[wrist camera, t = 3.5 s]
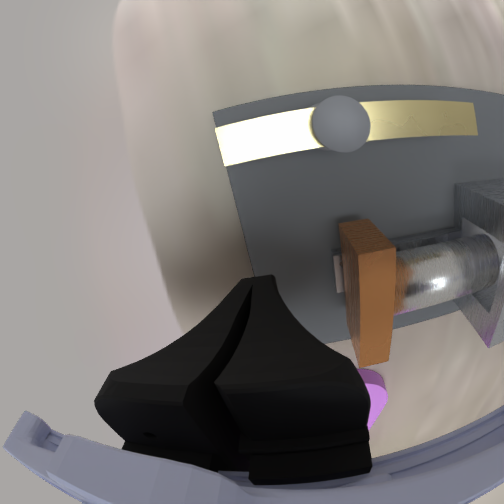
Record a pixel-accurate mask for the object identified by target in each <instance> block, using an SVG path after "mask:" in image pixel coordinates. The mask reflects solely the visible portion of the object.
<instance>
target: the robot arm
mask: <svg viewBox="0 0 504 504" xmlns="http://www.w3.org/2000/svg"><path fill="white" fill-rule="evenodd" d="M94 402H95V407H96V410H97V412H98V414H99V415H100V416H101V417H102V419H103V420H104V421H105V422H106V423H107V424H108V425H109V426H110V427H111V428H112V429H113V430H114V431H115V432H116V433H117V434H118V435H119V436H120V437H122V438H123V439H124V440H125V443H124V445H123V447H122V449H118V448H114V447H111V446H108V445H104V444H101V443H98V442H94V441H91V440H88V439H85V438H82V437H80V436H75V435H64V434H61V433H59V432H56V431H54V430H52V429H51V428H50V427H49V426H48V425H47V424H46V423H45V422H44V421H43V420H42V419H41V418H39V417H38V416H36V415H34V414H32V413H30V412H28V411H24V413H23V414H22V416H21V418H20V419H19V421H18V422H17V424H16V425H15V427H14V429H13V430H12V432H11V434H10V435H9V437H8V439H7V440H6V442H5V444H4V446H3V448H4V449H5V450H6V451H7V452H8V453H9V454H10V455H12V456H13V457H14V458H15V459H16V460H18V461H19V462H20V463H21V464H23V465H24V466H25V467H27V468H28V469H29V470H31V471H32V472H33V473H35V474H36V475H38V476H39V477H40V478H42V479H43V480H45V481H46V482H48V483H49V484H51V485H53V486H54V487H56V488H57V489H59V490H61V491H62V492H64V493H66V494H68V495H69V496H71V497H73V498H75V499H77V500H79V501H80V502H82V504H468V503H470V502H472V501H473V500H475V499H477V498H479V497H480V496H482V495H484V494H486V493H487V492H489V491H491V490H492V489H494V488H496V487H497V486H499V485H500V484H502V483H503V482H504V405H503V406H501V407H500V408H498V409H496V410H495V411H493V412H491V413H489V414H487V415H486V416H484V417H482V418H480V419H478V420H476V421H474V422H472V423H470V424H468V425H466V426H464V427H462V428H459V429H457V430H455V431H453V432H450V433H448V434H446V435H443V436H441V437H438V438H436V439H433V440H431V441H428V442H425V443H422V444H420V445H417V446H414V447H411V448H408V449H404V450H401V451H398V452H394V453H391V454H387V455H383V456H379V457H375V458H371V453H370V447H369V439H370V438H369V431H368V426H367V424H368V419H369V414H370V408H371V400H370V395H369V392H368V390H367V387H366V385H365V383H364V381H363V379H362V377H361V375H360V374H359V372H358V370H357V369H356V367H355V366H354V364H353V363H352V361H351V360H350V359H349V358H347V357H345V356H344V355H342V354H340V353H338V352H336V351H334V350H332V349H331V348H329V347H328V346H326V345H325V344H324V343H322V342H321V341H320V340H318V339H317V338H316V337H315V336H313V335H312V334H311V333H310V332H309V331H307V330H306V329H305V328H304V327H303V326H302V325H301V324H300V322H299V321H298V320H297V319H296V318H295V317H294V315H293V314H292V313H291V312H290V310H289V309H288V307H287V306H286V304H285V303H284V301H283V299H282V298H281V296H280V294H279V292H278V287H277V283H276V278H275V276H274V275H272V274H270V275H264V276H258V277H251V278H245V279H241V280H240V281H239V282H238V284H237V285H236V286H235V287H234V288H233V289H232V290H231V292H230V293H229V294H228V295H227V296H226V297H225V298H224V299H223V300H222V301H221V303H220V304H219V305H218V306H217V307H216V308H215V309H214V310H213V311H212V312H211V313H210V314H209V315H207V316H206V317H205V318H204V319H203V320H202V321H201V322H200V323H199V324H198V325H196V326H195V327H194V328H193V329H191V330H190V331H189V332H187V333H186V334H185V335H183V336H182V337H180V338H179V339H177V340H176V341H174V342H173V343H171V344H169V345H168V346H166V347H165V348H163V349H161V350H159V351H158V352H156V353H154V354H152V355H150V356H148V357H146V358H144V359H142V360H139V361H137V362H135V363H132V364H130V365H127V366H125V367H122V368H119V369H116V370H113V371H111V372H110V374H109V375H108V377H107V379H106V381H105V382H104V384H103V386H102V388H101V390H100V391H99V393H98V395H97V396H96V398H95V400H94Z"/></svg>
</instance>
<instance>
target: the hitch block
mask: <svg viewBox="0 0 504 504" xmlns="http://www.w3.org/2000/svg"><path fill="white" fill-rule="evenodd" d="M477 234H486V235H487V236H489V237H490V238H491V240H492V241H493V242H494V244H495V246H496V249H497V251H498V255H499V262H500V268H499V275H498V278H497V280H496V282H495V283H494V285H492V286H491V287H488V288H485V289H483V290H480V291H477V292H474V293H471V294H468V295H465V296H462V297H459V298H456V299H452V300H453V302H454V303H455V304H456V305H457V307H458V308H459V309H460V310H461V312H462V313H463V314H464V315H465V317H466V318H467V319H468V321H469V322H470V323H471V325H472V326H473V327H474V329H475V330H476V331H477V333H478V334H479V336H480V337H481V338H482V340H483V341H484V343H485V344H486V345H487V347H488V348H490V347H492V346H494V345H496V344H498V343H500V342H502V341H504V178H502V179H491V180H481V181H471V182H462V183H454V226H452V227H447V228H442V229H437V230H432V231H426V232H421V233H416V234H411V235H406V236H400V237H395V238H390V239H388V240H389V241H390V242H391V243H392V244H393V245H394V246H395V247H396V252H398V251H403V250H407V249H412V248H417V247H422V246H427V245H431V244H436V243H441V242H445V241H450V240H454V239H459V238H463V237H468V236H472V235H477ZM330 250H331V259H332V268H333V277H334V286H335V289H336V292H337V293H340V292H345V285H344V272H343V261H342V251H341V248H336V249H330Z"/></svg>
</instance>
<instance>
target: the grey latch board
mask: <svg viewBox="0 0 504 504" xmlns="http://www.w3.org/2000/svg"><path fill="white" fill-rule="evenodd" d="M392 100H438V101H457V102H469V103H473V105H474V110H475V116H476V123H477V131H478V135H449V136H422V137H405V138H393V139H381V140H372V141H367V139H368V137H369V134H370V129H371V124H370V119H369V116H368V113H367V111H366V110H365V108H364V107H363V106H362V105H361V104H360V103H359V102H372V101H392ZM315 107H316V108H315ZM308 108H315V110H314V112H313V115H312V120H311V124H312V129H313V132H314V135H315V137H316V138H317V140H318V141H319V142H320V143H321V144H322V145H323V146H325V147H319V148H313V149H307V150H301V151H295V152H290V153H284V154H279V155H274V156H269V157H264V158H259V159H255V160H250V161H246V162H241V163H237V164H233V165H229V166H226V168H227V172H228V175H229V179H230V183H231V187H232V191H233V195H234V199H235V203H236V207H237V210H238V214H239V218H240V222H241V226H242V230H243V234H244V238H245V241H246V245H247V249H248V253H249V257H250V261H251V265H252V268H253V272H254V276H255V277H258V276H264V275H270V274H272V275H274V276H275V278H276V283H277V287H278V292H279V294H280V296H281V298H282V299H283V301H284V303H285V304H286V306H287V307H288V309H289V310H290V312H291V313H292V314H293V315H294V317H295V318H296V319H297V320H298V321H299V322H300V324H301V325H302V326H303V327H304V328H305V329H306V330H307V331H309V332H310V333H311V334H312V335H313V336H315V337H316V338H317V339H318V340H320V341H321V342H322V343H324V344H325V343H331V342H336V341H342V340H347V339H351V336H350V333H349V330H348V326H347V320H346V300H345V292H340V293H337V292H336V289H335V286H334V277H333V268H332V259H331V250H330V249H336V248H341V241H340V233H339V223H344V222H350V221H356V220H362V219H369V220H370V221H371V222H372V223H373V224H374V225H375V226H376V227H377V228H378V229H379V230H380V231H381V232H382V233H383V234H384V235H385V236H386V237H387V239H390V238H395V237H400V236H406V235H411V234H416V233H421V232H426V231H432V230H437V229H442V228H447V227H452V226H454V183H462V182H471V181H481V180H491V179H502V178H504V95H502V94H497V93H492V92H486V91H479V90H472V89H464V88H455V87H444V86H427V85H372V86H355V87H343V88H333V89H324V90H316V91H309V92H302V93H296V94H290V95H284V96H279V97H273V98H268V99H263V100H259V101H254V102H250V103H245V104H241V105H237V106H233V107H229V108H225V109H222V110H218V111H215V112H212V113H213V117H214V121H215V124H216V128H218V127H222V126H226V125H229V124H233V123H237V122H242V121H246V120H250V119H254V118H259V117H264V116H269V115H274V114H279V113H284V112H290V111H295V110H301V109H308ZM458 310H460V309H459V308H458V307H457V305H456V304H455V303H454V302H453V300H449V301H446V302H443V303H439V304H436V305H432V306H429V307H425V308H422V309H418V310H414V311H410V312H406V313H402V314H398V315H394V316H393V327H392V329H396V328H400V327H404V326H408V325H411V324H415V323H419V322H422V321H426V320H429V319H432V318H436V317H439V316H442V315H445V314H449V313H452V312H455V311H458Z"/></svg>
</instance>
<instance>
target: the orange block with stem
mask: <svg viewBox="0 0 504 504" xmlns="http://www.w3.org/2000/svg"><path fill="white" fill-rule="evenodd" d="M339 233H340V241H341V251H342V261H343V272H344V285H345V300H346V320H347V326H348V330H349V333H350V336H351V340H352V343H353V347H354V350H355V354H356V358H357V361H358V365H359V368H361V367H365V366H370V365H374V364H378V363H382V362H387V361H388V360H389V353H390V345H391V337H392V327H393V316H394V315H398V314H402V313H406V312H410V311H414V310H418V309H422V308H425V307H429V306H432V305H436V304H439V303H443V302H446V301H449V300H452V299H456V298H459V297H462V296H465V295H468V294H471V293H474V292H477V291H480V290H483V289H485V288H488V287H491V286H492V285H494V283H495V282H496V280H497V278H498V275H499V268H500V262H499V255H498V251H497V249H496V246H495V244H494V242H493V241H492V240H491V238H490V237H489V236H487V235H486V234H477V235H472V236H468V237H463V238H459V239H454V240H450V241H445V242H441V243H436V244H431V245H427V246H422V247H417V248H412V249H407V250H403V251H398V252H396V247H395V246H394V245H393V244H392V243H391V242H390V241H389V240H388V239H387V237H386V236H385V235H384V234H383V233H382V232H381V231H380V230H379V229H378V228H377V227H376V226H375V225H374V224H373V223H372V222H371V221H370V220H369V219H362V220H356V221H350V222H344V223H339Z"/></svg>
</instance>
